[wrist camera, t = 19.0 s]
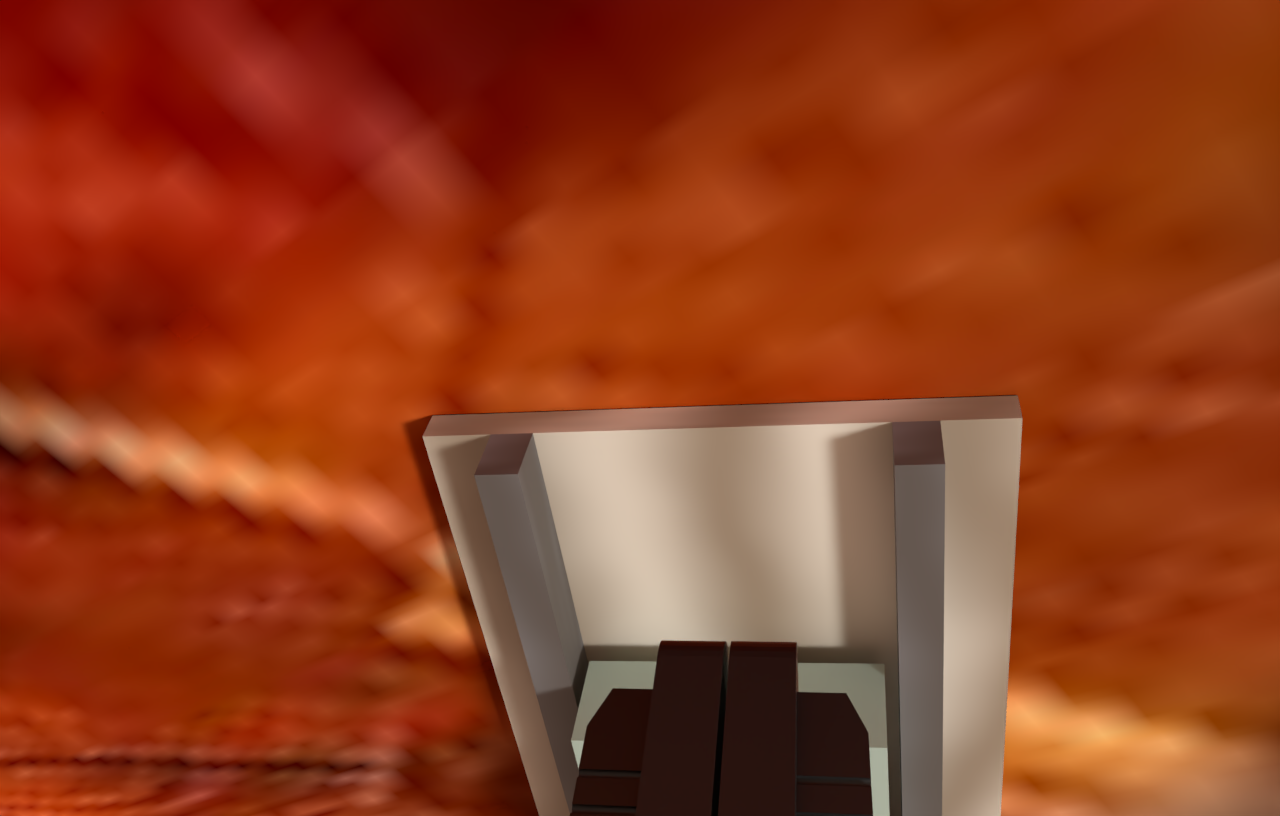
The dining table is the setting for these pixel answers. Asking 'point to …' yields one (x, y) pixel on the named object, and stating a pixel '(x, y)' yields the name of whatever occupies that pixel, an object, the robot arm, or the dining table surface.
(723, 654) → the robot arm
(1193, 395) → the dining table surface
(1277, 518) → the dining table surface
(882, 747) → the sage green tray
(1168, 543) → the dining table surface
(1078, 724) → the dining table surface
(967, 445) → the track
